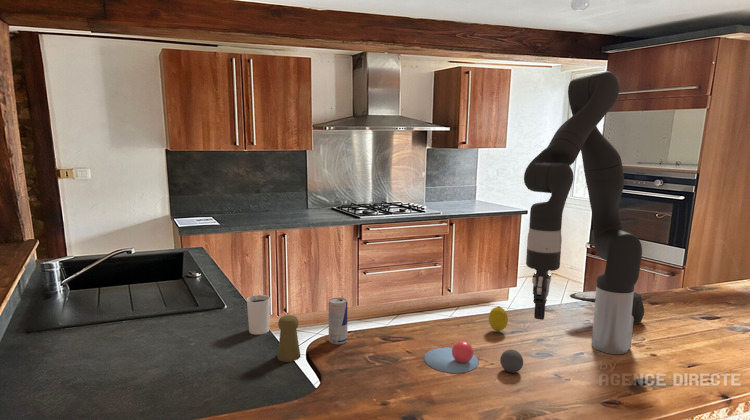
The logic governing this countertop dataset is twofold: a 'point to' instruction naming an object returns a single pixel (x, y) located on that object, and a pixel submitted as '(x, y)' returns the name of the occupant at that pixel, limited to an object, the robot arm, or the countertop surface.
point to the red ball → (462, 352)
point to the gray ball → (511, 361)
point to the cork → (288, 339)
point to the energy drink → (338, 320)
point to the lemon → (498, 318)
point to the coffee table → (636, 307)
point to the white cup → (258, 314)
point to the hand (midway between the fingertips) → (539, 318)
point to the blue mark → (448, 361)
